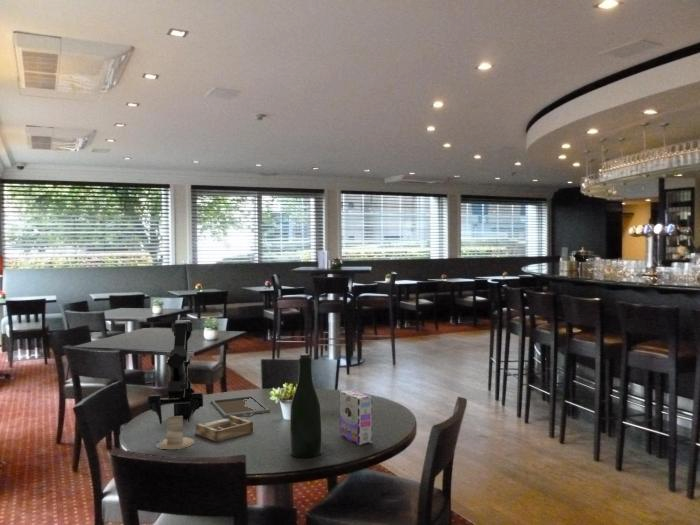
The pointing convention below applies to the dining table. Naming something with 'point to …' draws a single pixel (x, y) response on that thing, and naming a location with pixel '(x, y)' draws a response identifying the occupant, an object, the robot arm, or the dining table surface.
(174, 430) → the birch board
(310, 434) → the green wine bottle
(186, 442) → the cork mat
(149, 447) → the dining table surface
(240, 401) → the picture frame
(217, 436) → the frame
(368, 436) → the candy box
